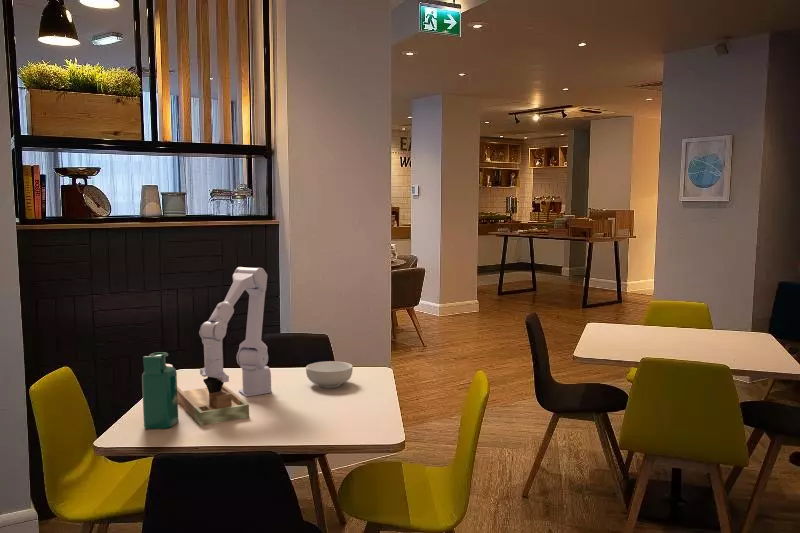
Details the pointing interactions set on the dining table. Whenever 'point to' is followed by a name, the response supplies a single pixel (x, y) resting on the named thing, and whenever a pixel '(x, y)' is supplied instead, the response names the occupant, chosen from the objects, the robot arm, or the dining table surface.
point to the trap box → (204, 414)
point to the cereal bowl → (329, 373)
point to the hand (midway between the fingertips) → (214, 400)
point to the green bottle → (159, 392)
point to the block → (220, 399)
